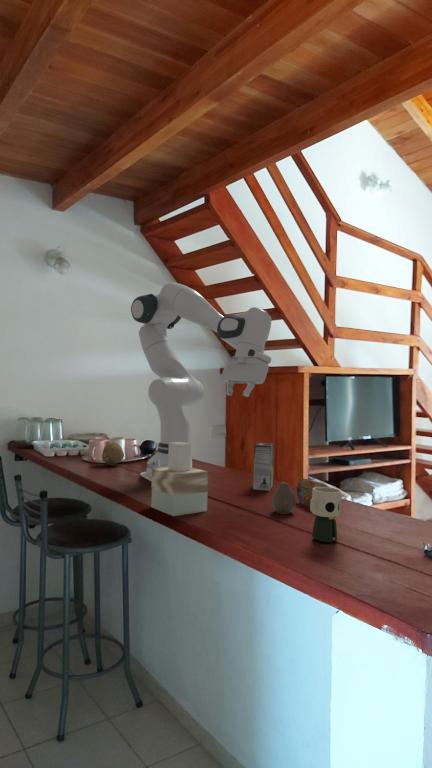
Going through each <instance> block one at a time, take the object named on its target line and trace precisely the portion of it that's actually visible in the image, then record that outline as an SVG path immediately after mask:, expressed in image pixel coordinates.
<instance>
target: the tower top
mask: <svg viewBox="0 0 432 768" xmlns="http://www.w3.org/2000/svg"><path fill="white" fill-rule="evenodd" d="M208 478H209V471H207V470H203V469H200V468H196V467H193V466H192V467H190V470H188V471H179V472H178V471H173V470H169V469H168V467H162V468H152V482H150V483H151V490H152V489H155V490H158V491H161V492H164V493H167V494H170V495H173V496H178V495H186V494H193V493H200V492H208V481H209V479H208Z"/></svg>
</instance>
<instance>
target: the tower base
mask: <svg viewBox="0 0 432 768" xmlns="http://www.w3.org/2000/svg"><path fill="white" fill-rule="evenodd" d="M150 506H151V508H153V509H155V510H157V511H160V512H162V513H165V514H167V515H170V516H172V517H177V516H184V515H191V514H196V513H203V512H207V511H208V491H207V492H200V493H193V494H186V495H178V496H173V495H170V494H167V493H164V492H161V491H158V490H155V489H152V488H151V502H150Z"/></svg>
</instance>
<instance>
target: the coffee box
mask: <svg viewBox="0 0 432 768" xmlns="http://www.w3.org/2000/svg"><path fill="white" fill-rule="evenodd" d="M253 455H254V457H253V479H252V480H253V485H252V489H253V491H254V490H257V491H269V492H270V491H271V489H272V488H273V486H274V485H273V484H274V483H273V480H274V462H275V461H274V459H275V457H274V456H275V443H272V442H270V443H269V442H257V443H256V444H255V445H254V454H253Z"/></svg>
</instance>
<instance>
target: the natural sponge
mask: <svg viewBox="0 0 432 768" xmlns="http://www.w3.org/2000/svg"><path fill="white" fill-rule="evenodd" d="M124 457H125V452H124V451H123V448H122V446H121V445H120V443H117V442H115V441H113V442H109V443H106V444H105V446H104V448H103V450H102V453H101V459H102V461H103V462H104V463H105V464H107V465H109V466H111V467H113V466H115V465H116V464H117V463H119V462H121V461H122V460H123V459H124Z"/></svg>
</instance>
